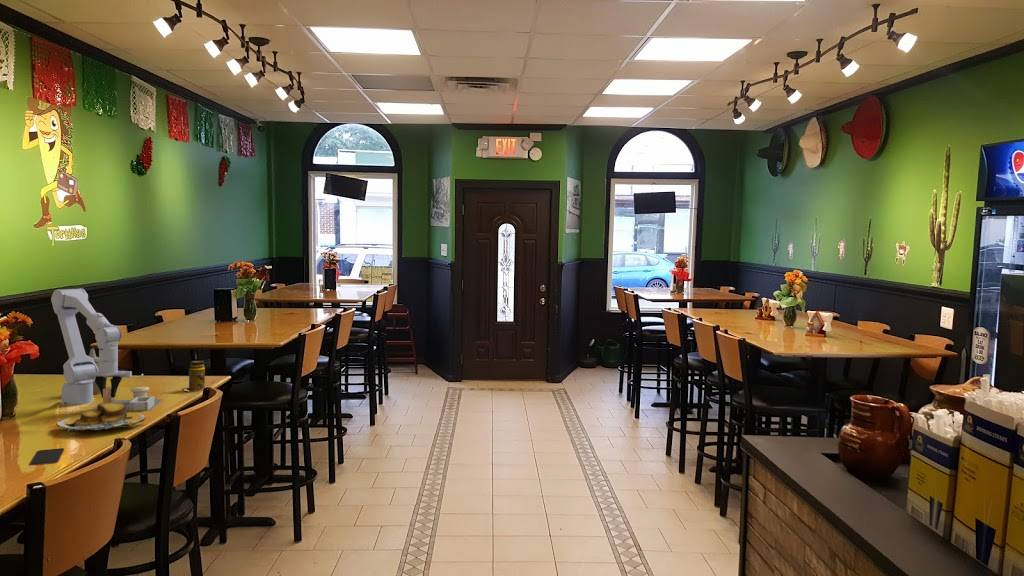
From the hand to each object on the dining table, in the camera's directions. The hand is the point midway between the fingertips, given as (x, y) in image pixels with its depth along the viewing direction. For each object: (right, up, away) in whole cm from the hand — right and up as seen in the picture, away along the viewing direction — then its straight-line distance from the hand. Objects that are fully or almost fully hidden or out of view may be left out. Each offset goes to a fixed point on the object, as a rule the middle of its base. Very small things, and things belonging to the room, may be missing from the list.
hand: (108, 397), depth 237 cm
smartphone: (+11, -10, -48) cm, 50 cm away
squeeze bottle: (-23, -3, +26) cm, 35 cm away
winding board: (+4, -5, +5) cm, 8 cm away
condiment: (+12, -4, +39) cm, 41 cm away
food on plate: (+8, -8, -16) cm, 19 cm away
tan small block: (0, -2, 0) cm, 2 cm away
